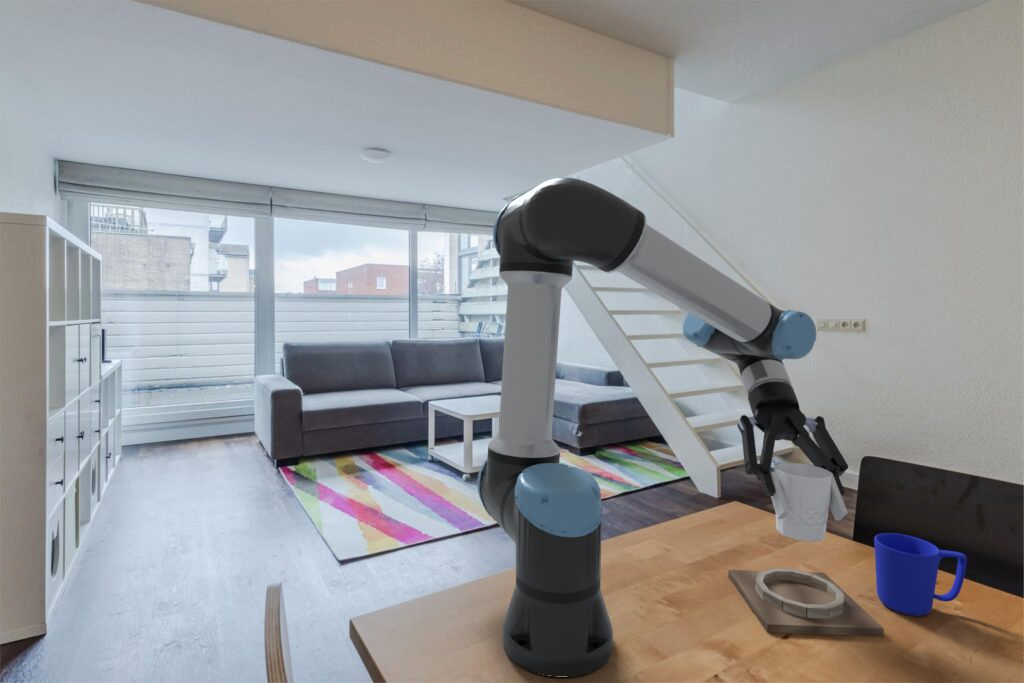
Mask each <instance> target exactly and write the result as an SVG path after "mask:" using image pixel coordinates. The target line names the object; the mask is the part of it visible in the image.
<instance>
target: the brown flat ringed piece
mask: <svg viewBox="0 0 1024 683" xmlns="http://www.w3.org/2000/svg"><path fill="white" fill-rule="evenodd" d="M727 576H728V578H729V580H730V582H732V584H733V586H734V587H735V588H736V590H737V591H738V592H739V594H740V595H741V597H742V599H743V600H744V601H745V603H746V604H747V605H748V607H749V608H750V610H751V611H752V613H753V614H754V615H755V617H756V618H757V619H758V620H757V621H759V623H760V624H761V625H762V627H763V628H764V630H765V631H766V633H772V634H773V633H775V634H803V635H827V636H828V635H829V636H831V635H832V636H855V637H856V636H857V637H880V638H883V637H884V634H885V633H884V632H885V628H884V627H883V626H882V625H881V624H880V623H879V622H877V621H876V620H875V618H874V617H872V616H871V614H869V613H868V612H867V611H866V610H865V609H863V607H862V606H860V605H859V603H857V602H856V601H855V600H854V599H853V598H852V597H851V596H850V595H848V594H847V593H846V592H845V591H844V589H842V588H841V587H840V586H839V585H838V584H837V583H836V582H835V581H834V580H833V579H832V578H831V577H829V576H828V574H826V573H825V572H813V571H812V572H811V571H808V572H807V571H801V570H797V569H794V568H781V567H780V568H779V567H775V568H774V567H773V568H768V569H764V570H745V569H743V570H742V569H728V575H727Z"/></svg>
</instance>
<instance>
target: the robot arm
mask: <svg viewBox="0 0 1024 683" xmlns="http://www.w3.org/2000/svg"><path fill="white" fill-rule="evenodd" d="M492 238H493V245H494V247H495V250H496V252H497V254H498V256H499V257H500V258H499V272H498V275H499V277H500V278H501V279H502V280H503V282H505V284H506V285H507V294H506V295H507V297H506V311H505V326H504V339H503V340H504V341H503V356H502V357H503V359H502V372H501V373H502V374H501V389H500V403H499V404H500V407H499V419H498V433H497V435H496V436H495V437H494V438H493V439H492V440H490V441H489V442H488V445H487V458H486V460H485V461H483V464H481V467H480V469H479V471H478V474H477V481H476V482H477V484H476V485H477V486H476V488H477V494H478V497H479V499H480V501H481V504H482V506H483V508H484V509H485V511H486V512H487V514H488V515H489V516H490V517H491V518H492V520H493V521H495V522H496V523H497V525H498V526H500V527H501V529H502V530H504V532H505V533H506V534H507V535H508V537H509V538H510V539H511V540H512V541H513V542H514V544H515V545H514V546H515V587H514V590H513V593H512V595H511V598H510V601H509V604H508V607H507V610H506V614H505V616H504V620H503V624H502V645H503V648H504V651H505V653H506V654H507V656H508V657H509V658H510V659H511V660H512V661H513V662H514V663H515V664H516V665H518V666H519V667H521V668H523V669H524V668H526V669H527V670H526V669H525V670H526V671H528V670H530V671H529V672H531V671H533V672H536V673H540V674H544V675H551V676H568V677H567V678H574V677H575V676H576V677H579V676H584V675H588V674H590V673H593V672H595V671H597V670H598V669H601V667H603V665H604V666H605V664H606V663H607V662H608V661H609V659H610V658H611V657H612V653H613V646H614V631H613V626H612V622H611V619H610V615H609V612H608V609H607V606H606V603H605V600H604V596H603V593H602V589H601V574H602V572H601V570H602V569H601V567H602V565H601V564H602V563H601V562H602V521H603V520H602V519H603V515H604V510H603V502H602V492H601V488H600V486H599V483H598V482H597V480H596V479H595V478H594V476H592V475H591V474H589V473H588V472H586V470H584V469H581V468H579V467H576V466H573V467H571V466H569V465H568V464H564V463H560V459H561V458H560V457H561V448H560V447H559V445H558V444H557V443H556V442H555V441H554V439H553V437H552V435H553V433H552V432H553V418H554V409H555V408H554V405H555V404H554V403H555V392H556V391H555V390H556V376H557V365H558V364H557V361H558V360H557V359H558V349H559V348H558V346H559V345H558V344H559V333H560V331H559V330H560V320H561V319H560V317H561V304H562V303H561V302H562V291H563V289H564V287H565V286H566V285H567V284H569V283H570V282H571V280H572V279H573V268H574V267H573V266H574V262H575V261H576V262H579V263H580V262H581V263H585V264H589V265H591V266H593V267H595V268H597V269H599V270H600V271H602V272H605V273H606V274H607V273H608V274H611V273H614V272H618V273H619V274H620V273H621V274H622V275H623V276H625V277H627V278H629V279H630V280H632V281H634V282H636V283H637V284H639V285H640V286H642V287H644V288H646V289H648V290H650V291H651V292H652V293H655V294H656V295H658V296H660V297H662V298H664V300H667V301H668V302H670V303H672V304H673V305H675V306H677V307H678V308H681V309H683V310H684V311H686V312H687V314H686V315H685V317H684V321H683V322H682V333H683V335H684V337H685V338H686V339H687V340H688V341H690V342H691V343H693V344H695V345H696V346H697V347H698V348H703V349H705V350H707V351H709V352H711V353H713V354H714V355H715V354H716V355H718V356H720V357H722V358H724V359H726V360H729V361H731V362H732V363H735V365H736V366H737V368H738V371H739V373H740V376H741V380H742V383H743V388H744V390H745V393H746V395H747V399H748V400H747V401H748V404H749V407H750V410H751V413H752V415H753V416H747V415H746V414H743V415H741V416H740V418H739V420H738V422H737V423H736V424H737V425H736V427H737V428H738V430H739V432H740V435H741V440H742V453H743V464H744V471H745V473H746V474H747V475H750V476H751V475H755V479H757V480H758V481H760V483H761V486H762V490H763V493H764V495H765V496H766V497H770V499H771V501H772V505H773V509H774V511H775V512H776V513H775V516H776V515H777V518H778V519H783V518H784V517H785V516H786V515H787V513H788V512H789V510H788V507H787V504H786V501H785V497H784V494H783V491H782V488H781V485H780V482H779V478H778V476H777V473H776V472H774V471H771V467H772V460H773V455H774V449H775V443H776V441H782V440H785V441H790V442H792V444H793V445H794V446H795V447H798V448H799V449H800V450H801V452H802V453H803V454H804V455H805V456H806V457H807V459H808V460H809V462H811V464H812V466H817V467H820V468H823V469H826V470H828V471H830V472H831V473H832V484H831V494H830V505H829V509H830V510H831V514H832V515H833V518H834V521H841V520H842V519H844V518H845V516H847V514H849V512H848V510H847V507H846V505H845V502H844V499H843V496H844V494H845V489H844V486H843V484H842V481H841V478H840V477H842V475H844V473H845V472H846V471H847V470H848V469H849V464H848V463H847V462H846V460H845V458H844V456H843V454H842V453H841V452H840V450H839V448H838V446H837V445H836V443H835V441H834V439H833V438H832V436H831V435H830V433H829V431H828V430H827V428H826V423H825V418H824V417H823V416H820V415H818V416H816V417H815V418H812V417H808V416H807V417H806V415H805V414H804V413H803V411H801V409H800V403H799V401H798V398H797V395H796V393H795V390H794V387H793V385H792V381H791V379H790V377H789V375H788V372H787V370H786V367H785V364H784V362H783V360H799V359H802V358H805V357H806V356H807V355H808V354H810V353H811V352H812V350H813V348H814V346H815V342H816V341H817V340H816V339H817V328H816V327H817V326H816V324H815V321H814V320H813V319H812V317H811V316H810V315H809V314H808V313H805V312H803V311H798V310H796V311H795V310H792V309H787V310H783V309H779V308H778V307H776V306H775V305H773V304H771V303H769V302H768V301H766V300H765V299H763V298H762V297H760V296H759V295H758V294H756V293H755V292H752V291H751V290H749V289H748V288H746V286H743V285H741V284H740V283H739V282H737V281H736V280H734V279H732V278H731V277H729V276H728V275H726V274H724V273H723V272H721V271H720V270H719V269H717V268H716V267H713V266H712V265H711V264H709V263H707V262H706V261H705V260H703V259H702V258H700V257H699V256H697V255H695V254H694V253H692V252H690V251H689V250H687V249H686V248H684V247H682V246H681V244H680V245H679V244H678V243H677V242H675V241H673V239H670V238H669V237H668V236H665V235H664V234H663V233H661V232H659V231H658V230H656V228H653V227H651V226H650V225H649V224H647V217H646V214H645V213H644V212H643V211H641V210H639V209H638V208H636V207H635V206H633V205H632V204H630V203H629V202H628V201H625V200H624V199H623V198H620V197H619V196H617V195H615V194H614V193H612V192H610V191H608V190H606V189H604V188H602V187H600V186H597V185H596V184H594V183H591V182H588V181H585V180H582V179H578V178H573V177H556V178H552V179H548V180H545V181H544V182H542V183H540V184H538V185H537V186H536V187H535V188H533V189H531V190H530V191H526V192H524V193H521V194H519V195H517V196H515V197H514V198H512V199H511V200H509V202H508V203H507V204H506V205H505V206H504V207H503V208H502V209H501V210H500V211H499V213H498V215H497V217H496V219H495V222H494V225H493V231H492ZM805 426H806V427H807V428H808V429H807V428H806V427H805ZM755 427H756V428H758V429H759V430H760V431H761V432H763V433H764V434H763V439H762V448H761V453H760V459H759V463H758V458H757V457H758V456H757V448H756V439H755V431H754V428H755ZM810 433H812V437H813V438H812V437H811V436H810ZM533 672H532V673H533ZM536 673H535V674H536ZM540 674H539V675H540ZM544 675H543V676H544Z"/></svg>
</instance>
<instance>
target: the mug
mask: <svg viewBox="0 0 1024 683" xmlns="http://www.w3.org/2000/svg"><path fill="white" fill-rule="evenodd" d="M873 540H874V542H873V543H874V557H875V558H874V559H875V561H874V562H875V580H876V582H875V584H876V593H877V597H878V599H879V600H880V602H881V603H882V604H883V605H885V606H886V607H887V608H889V609H891V610H893V611H895V612H898V613H901V614H903V615H909V616H918V617H919V616H925V615H928V613H930V612H931V611H932V609H933V604H934V599H935V600H937V601H941V602H951V601H953V600H955V599H957V597H958V596H959V594H960V592H961V590H962V587H963V583H964V579H965V574H966V569H967V563H968V561H967V560H968V559H967V558H968V557H967V555H965V554H964V553H963V552H958V551H953V550H945V549H944V550H943V549H939V547H938V546H936V545H935V544H933V543H931V542H929V541H927V540H925V539H921V538H918V537H915V536H911V535H907V534H903V533H893V532H889V533H888V532H884V533H879V534H876V535H875V536H874V538H873ZM944 558H957V566H956V573H955V576H954V577H955V578H954V580H953V581H954V582H953V583H952V587H951V588H950V590H948V592H947V593H944V594H937V593H936V592H935V591H936V584H937V579H938V572H939V565H940V562H941V560H942V559H944Z"/></svg>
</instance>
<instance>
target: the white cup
mask: <svg viewBox="0 0 1024 683" xmlns="http://www.w3.org/2000/svg"><path fill="white" fill-rule="evenodd" d="M773 470H774V471H773V472H776V473H777V476H778V478H779V482H780V485H781V488H782V491H783V494H784V497H785V501H786V504H787V507H788V510H789V512H788V513H787V515H786V516H785V517H784V518H783V519H778V518H777V515H776V512H775V528H776V531H777V532H778V533H779V534H780V535H782V536H784V537H786V538H788V539H791V540H796V541H801V542H809V543H817V542H818V543H819V542H821V541H823V540H825V538H826V534H827V522H828V519H829V510H830V494H831V484H832V473H831V472H830V471H828V470H826V469H823V468H820V467H817V466H814V465H813V464H812V465H811V464H805V463H797V462H781V463H778V464H775V465H774V467H773Z"/></svg>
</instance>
